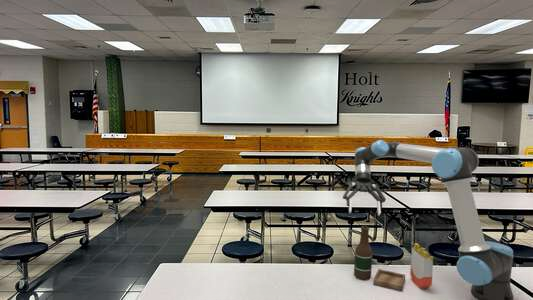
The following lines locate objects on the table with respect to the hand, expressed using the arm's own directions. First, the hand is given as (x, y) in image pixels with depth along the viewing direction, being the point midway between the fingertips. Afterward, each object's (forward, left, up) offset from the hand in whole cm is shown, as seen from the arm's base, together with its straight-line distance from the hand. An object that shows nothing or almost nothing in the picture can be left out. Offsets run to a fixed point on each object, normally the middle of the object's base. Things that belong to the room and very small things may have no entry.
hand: (364, 213), depth 168 cm
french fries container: (-26, +2, -28) cm, 39 cm away
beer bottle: (-2, +7, -28) cm, 29 cm away
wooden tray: (-14, +6, -28) cm, 32 cm away
